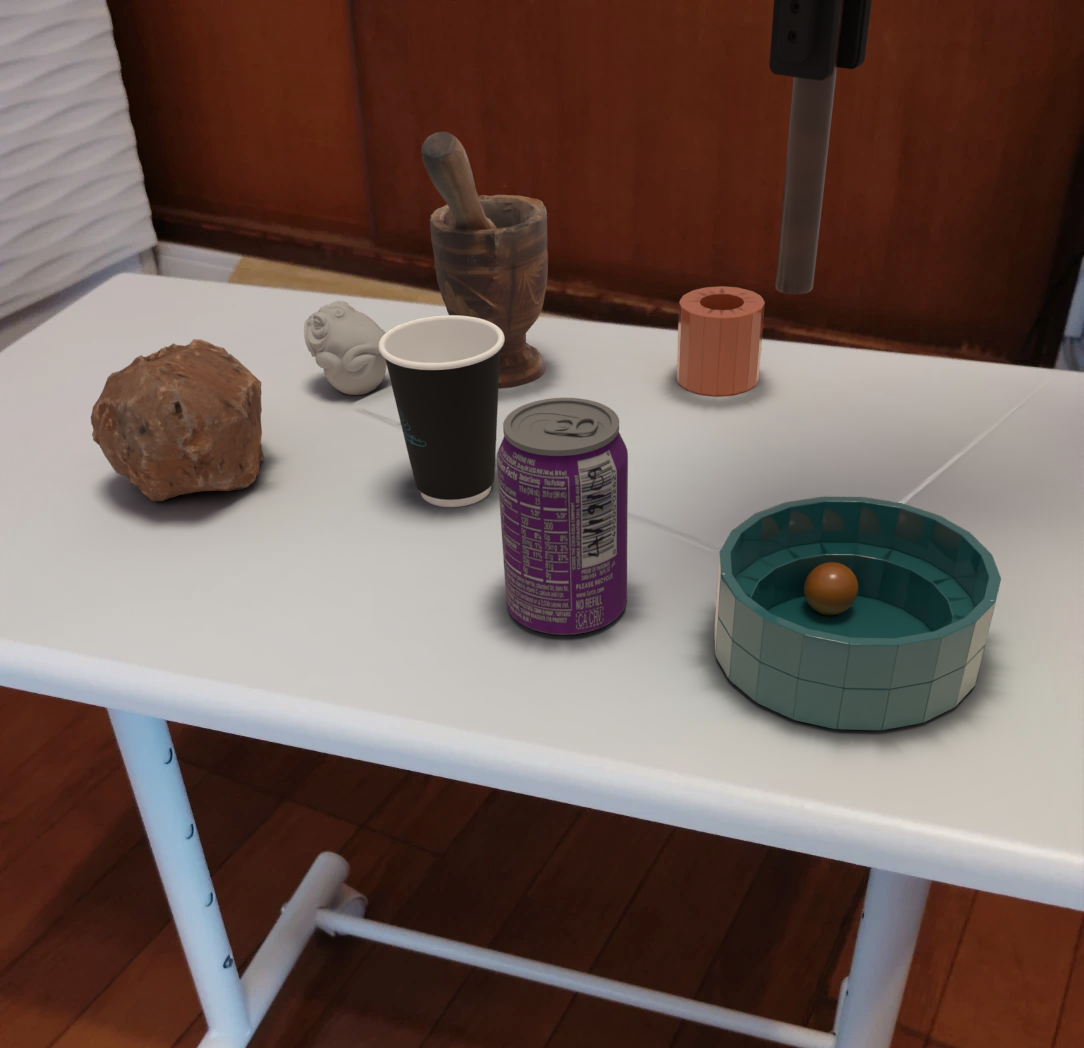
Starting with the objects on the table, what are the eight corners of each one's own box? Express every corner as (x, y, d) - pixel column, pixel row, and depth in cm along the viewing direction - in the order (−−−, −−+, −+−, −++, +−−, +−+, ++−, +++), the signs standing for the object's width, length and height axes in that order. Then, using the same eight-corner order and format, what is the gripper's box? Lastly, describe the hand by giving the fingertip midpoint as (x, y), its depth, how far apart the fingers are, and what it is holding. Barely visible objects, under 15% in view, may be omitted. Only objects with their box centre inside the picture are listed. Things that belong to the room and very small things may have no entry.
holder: (706, 367, 96) (711, 280, 91) (772, 386, 92) (780, 297, 88) (660, 394, 92) (663, 305, 88) (727, 415, 89) (733, 324, 84)
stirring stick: (788, 278, 64) (821, -74, 54) (820, 286, 63) (860, -71, 53) (767, 289, 63) (797, -68, 53) (799, 297, 62) (836, -65, 52)
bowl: (800, 559, 74) (810, 472, 70) (1021, 642, 66) (1046, 550, 62) (663, 669, 66) (666, 577, 62) (896, 778, 58) (916, 682, 54)
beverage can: (633, 580, 72) (635, 396, 65) (618, 649, 67) (619, 457, 59) (519, 573, 74) (508, 391, 66) (496, 640, 68) (481, 450, 60)
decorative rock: (234, 536, 78) (200, 394, 72) (80, 524, 80) (33, 385, 74) (304, 444, 88) (279, 311, 82) (164, 436, 90) (130, 306, 84)
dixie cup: (375, 507, 81) (352, 350, 73) (441, 457, 86) (425, 306, 79) (473, 534, 77) (458, 373, 70) (535, 481, 82) (527, 326, 75)
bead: (818, 590, 70) (824, 546, 68) (864, 607, 68) (871, 563, 66) (791, 613, 68) (796, 569, 66) (837, 632, 67) (844, 587, 65)
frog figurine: (339, 370, 98) (326, 286, 94) (412, 382, 96) (402, 296, 91) (298, 401, 94) (282, 314, 89) (374, 414, 92) (361, 326, 87)
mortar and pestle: (549, 421, 89) (537, 135, 77) (435, 423, 90) (405, 139, 77) (554, 358, 98) (545, 92, 85) (451, 360, 99) (426, 96, 86)
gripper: (845, -503, 38) (790, 117, 50) (1056, -474, 47) (967, 48, 59) (661, -474, 42) (651, 94, 54) (888, -452, 51) (836, 33, 63)
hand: (816, 67), depth 57 cm, fingers closed on stirring stick, 2 cm apart
